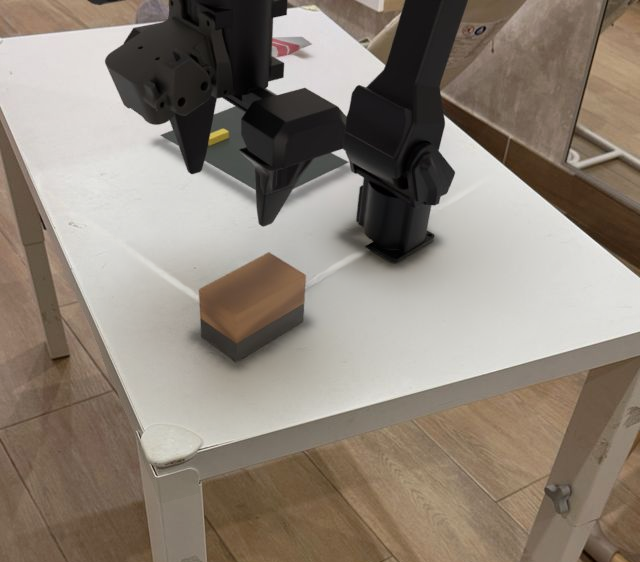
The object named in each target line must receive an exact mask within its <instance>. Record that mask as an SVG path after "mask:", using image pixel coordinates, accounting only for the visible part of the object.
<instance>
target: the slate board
mask: <svg viewBox="0 0 640 562" xmlns="http://www.w3.org/2000/svg"><path fill="white" fill-rule="evenodd" d="M244 114H245V112H244V111H242V110H241V109H239V108H238V107H236V106H232V107H230V108H227V109H224V110H222V111H220V112H217V113H214V116H213V122H212V127H211V132H210V133H213V132H215V131H218V130H220V129H225V130H227V131H229V138H227V139H225V140H223V141H220V142H218V143H215V144H213V145H210V146H209V145H208V148H207V153H206V157H205V160H204V162H206V163H208V164H209V165H210V166H213V167H214V168H216V169H218V170H220V171H221V172H223V173H225V174H227V175H228V176H230V177H232V178H234V179H236V180H237V181H238V182H241V183H242V184H244V185H246V186H248V187H249V188H251V189H252V190H254V191H256V184H255V167H254V164H253V163H252V162H250V161H249V160H248V159H247V158H246V157H245V156H244V155H243V154H242V153H241V152H240V150H239V149H242V148H245V147H246V145H245V142H244V140H243V138H242V135H241V118H242V117H243V115H244ZM160 136H161V137H162V138H164V139H166V140H167V141H169V142H171V143H172V144H174V145H176V146H178V147H179V145H178V143H177V140H176V137H175V134H174V131H173V129H172V130H170V131H167V132H165V133H162V134H160ZM348 163H349V164H350V162H349V160H346V159H344V158H342V157H340V156H338V155H336V154H335V153H333V152H332V153H329V154H326V155H323V156H320V157H317V158H314V160H313V161H312V162H311V164H310V165H309V166H308V168H307V169H306V170H305V172H304V173H303V174H302V176H301V177H300V179H299V180H298V182H297V183H296V185H295V187H294V188H293V190H295V189H296V188H299V187H301V186H303V185H305V184H307V183H309V182H312V181H313V180H315V179H318V178H319V177H322V176H324V175H325V174H329V173H330V172H332V171H333V170H334V171H335V170H336V169H338V168H340V167H342V166H344V165H346V164H348Z"/></svg>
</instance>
